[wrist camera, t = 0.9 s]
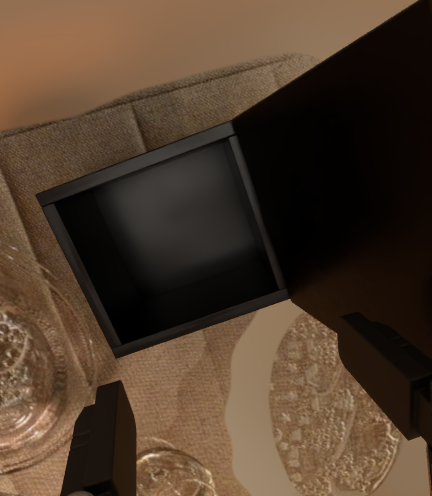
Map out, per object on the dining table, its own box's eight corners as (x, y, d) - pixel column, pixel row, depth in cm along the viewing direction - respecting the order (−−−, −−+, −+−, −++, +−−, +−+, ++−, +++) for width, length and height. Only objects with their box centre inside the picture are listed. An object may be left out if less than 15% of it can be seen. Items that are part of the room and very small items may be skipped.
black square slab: (510, 456, 10) (530, 443, 11) (430, -9, 7) (460, -19, 7) (291, 302, 24) (301, 297, 25) (230, 119, 21) (242, 115, 21)
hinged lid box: (137, 308, 34) (115, 359, 26) (81, 184, 31) (34, 194, 22) (271, 261, 34) (294, 297, 25) (227, 129, 30) (236, 118, 22)
